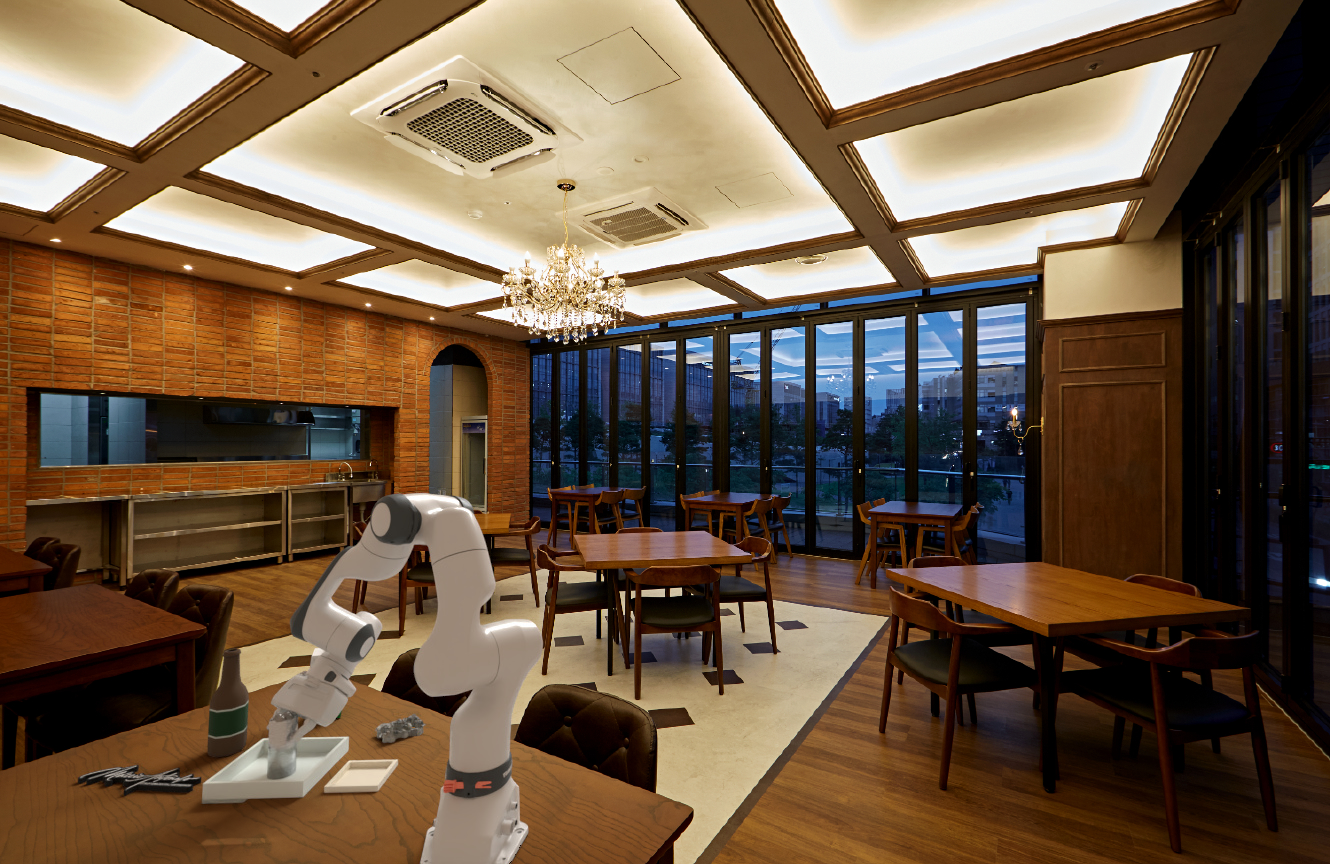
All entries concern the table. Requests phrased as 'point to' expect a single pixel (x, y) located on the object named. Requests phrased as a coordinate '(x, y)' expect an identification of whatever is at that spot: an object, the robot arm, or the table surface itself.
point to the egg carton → (400, 729)
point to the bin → (252, 783)
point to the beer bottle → (228, 710)
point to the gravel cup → (282, 746)
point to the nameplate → (142, 780)
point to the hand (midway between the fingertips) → (281, 735)
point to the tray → (361, 776)
